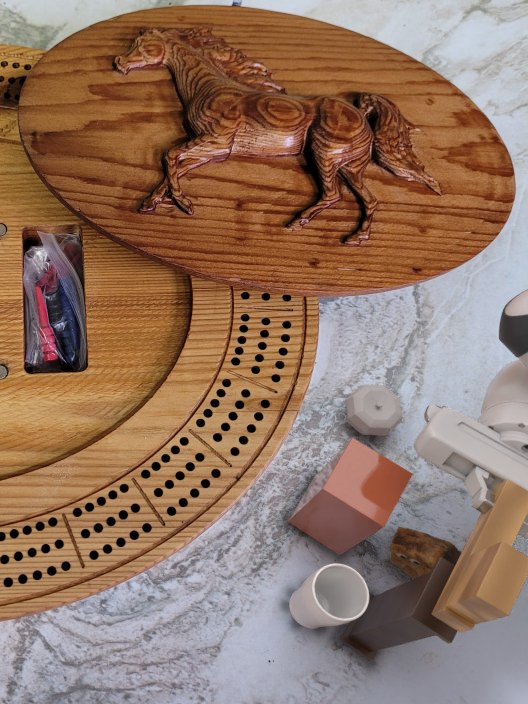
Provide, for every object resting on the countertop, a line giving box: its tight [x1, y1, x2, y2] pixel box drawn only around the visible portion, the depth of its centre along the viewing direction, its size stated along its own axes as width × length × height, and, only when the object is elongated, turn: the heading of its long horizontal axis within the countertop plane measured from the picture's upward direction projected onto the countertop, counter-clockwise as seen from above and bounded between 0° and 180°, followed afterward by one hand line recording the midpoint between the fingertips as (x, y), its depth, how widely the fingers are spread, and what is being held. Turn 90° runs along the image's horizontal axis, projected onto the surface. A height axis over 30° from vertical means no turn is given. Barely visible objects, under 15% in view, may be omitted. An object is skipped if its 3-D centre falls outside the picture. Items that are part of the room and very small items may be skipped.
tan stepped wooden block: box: [432, 479, 528, 633], centre depth 80 cm, size 3×16×10 cm, turn 144°
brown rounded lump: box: [389, 526, 462, 579], centre depth 108 cm, size 12×6×11 cm, turn 54°
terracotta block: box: [287, 437, 414, 556], centre depth 108 cm, size 8×8×18 cm
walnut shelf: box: [338, 557, 458, 662], centre depth 98 cm, size 4×8×26 cm, turn 144°
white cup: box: [288, 563, 370, 630], centre depth 104 cm, size 7×7×15 cm
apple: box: [345, 384, 403, 436], centre depth 119 cm, size 8×8×7 cm
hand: (503, 519), depth 85 cm, fingers closed on tan stepped wooden block, 3 cm apart
